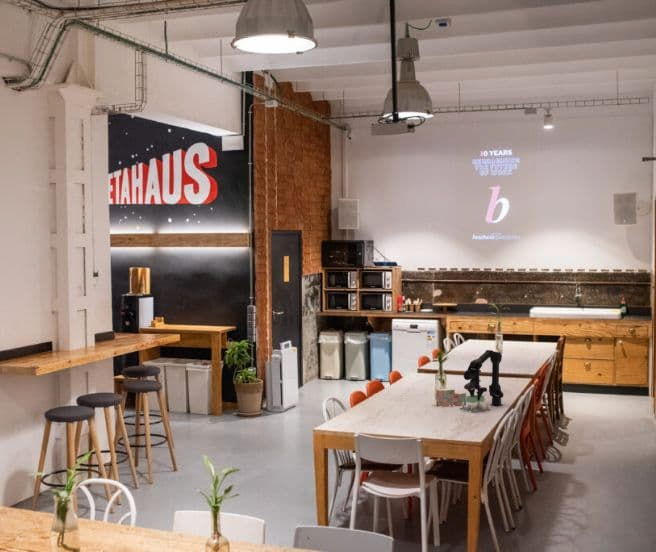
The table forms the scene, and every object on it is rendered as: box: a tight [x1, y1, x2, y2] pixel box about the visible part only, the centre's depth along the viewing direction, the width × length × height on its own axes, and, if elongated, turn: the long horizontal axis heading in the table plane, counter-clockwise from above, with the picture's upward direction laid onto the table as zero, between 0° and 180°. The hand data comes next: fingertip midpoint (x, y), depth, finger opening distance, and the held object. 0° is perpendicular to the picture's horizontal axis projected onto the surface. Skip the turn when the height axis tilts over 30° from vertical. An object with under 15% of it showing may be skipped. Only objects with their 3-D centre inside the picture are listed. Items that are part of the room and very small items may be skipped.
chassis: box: [459, 401, 492, 413], centre depth 580 cm, size 17×14×6 cm
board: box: [466, 394, 485, 404], centre depth 580 cm, size 12×6×4 cm, turn 121°
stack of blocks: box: [435, 387, 467, 407], centre depth 597 cm, size 21×6×12 cm, turn 103°
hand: (475, 400), depth 580 cm, fingers closed on board, 6 cm apart
